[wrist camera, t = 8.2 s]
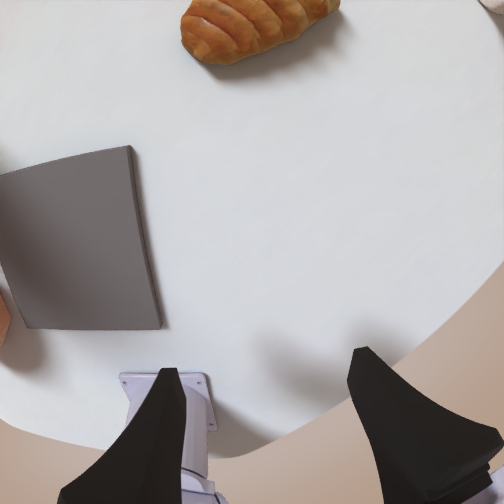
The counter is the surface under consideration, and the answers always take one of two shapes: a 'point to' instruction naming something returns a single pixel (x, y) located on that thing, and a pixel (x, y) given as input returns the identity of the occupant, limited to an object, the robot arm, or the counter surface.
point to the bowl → (3, 320)
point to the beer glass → (494, 5)
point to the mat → (77, 244)
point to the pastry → (246, 26)
